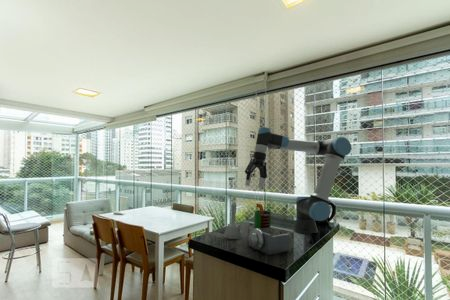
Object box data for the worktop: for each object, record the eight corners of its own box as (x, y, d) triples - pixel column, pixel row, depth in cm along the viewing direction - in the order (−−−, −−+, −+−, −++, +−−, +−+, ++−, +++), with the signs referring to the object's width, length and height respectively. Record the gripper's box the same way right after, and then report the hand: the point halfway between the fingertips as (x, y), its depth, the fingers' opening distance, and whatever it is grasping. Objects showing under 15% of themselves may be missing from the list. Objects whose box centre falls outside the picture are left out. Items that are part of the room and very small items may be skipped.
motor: (265, 242, 130) (265, 205, 132) (250, 239, 135) (251, 204, 137) (272, 238, 139) (272, 203, 141) (258, 235, 144) (258, 202, 145)
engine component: (223, 238, 137) (240, 239, 135) (223, 202, 138) (240, 203, 136) (226, 233, 147) (242, 234, 145) (227, 200, 149) (243, 201, 147)
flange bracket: (267, 241, 132) (268, 222, 132) (289, 250, 118) (289, 229, 119) (242, 246, 122) (242, 225, 123) (262, 256, 109) (262, 233, 110)
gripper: (266, 156, 155) (260, 187, 152) (243, 147, 137) (236, 183, 134) (276, 157, 149) (270, 190, 147) (253, 148, 131) (246, 185, 129)
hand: (254, 187), depth 141 cm, fingers open, 13 cm apart
